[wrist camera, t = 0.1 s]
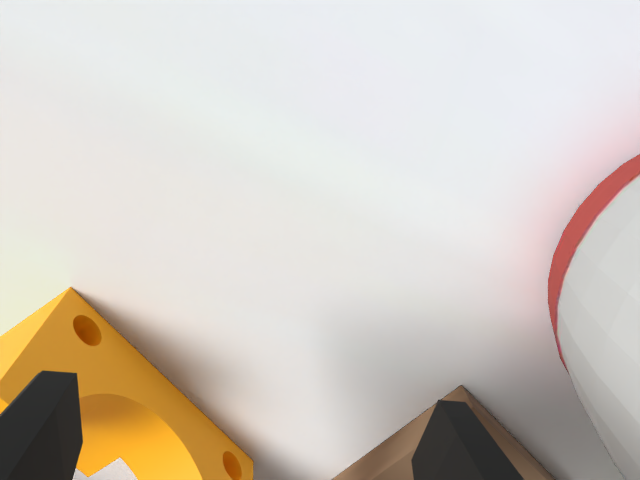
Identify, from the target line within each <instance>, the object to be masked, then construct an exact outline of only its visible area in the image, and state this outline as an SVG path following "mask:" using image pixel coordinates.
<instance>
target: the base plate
mask: <svg viewBox="0 0 640 480" xmlns="http://www.w3.org/2000/svg"><path fill="white" fill-rule="evenodd" d="M441 400H447V401H461V402H466V403H467V404H468V406H469V407H470V408H471V410H472V411H473V412H474V414H475V415H476V416H477V418H478V419H479V420H480V422H481V423H482V424H483V426H484V427H485V428H486V430H487V431H488V432H489V434H490V435H491V436H492V438H493V439H494V440H495V442H496V443H497V444H498V446H499V447H500V448H501V450H502V451H503V452H504V454H505V455H506V456H507V458H508V459H509V460H510V462H511V463H512V464H513V465H514V467H515V468H516V469H517V471H518V472H519V473H520V475H521V476H522V477H523V478H524V480H556V479H555V478H554V477H553V476H552V475H551V474H550V473H549V472H548V471H547V470H546V469H545V468H544V467H543V466H542V465H541V464H540V463H539V462H538V461H537V460H536V459H535V458H534V457H533V456H532V455H531V454H530V453H529V452H528V451H527V450H526V449H525V448H524V447H523V446H522V445H521V444H520V443H519V442H518V441H517V440H516V439H515V438H514V437H513V436H512V435H511V434H510V433H509V432H508V431H507V430H506V429H505V428H504V427H503V426H502V425H501V424H500V423H499V422H498V421H497V420H496V419H495V418H494V417H493V416H492V415H491V414H490V413H489V412H488V411H487V410H486V409H485V408H484V407H483V406H482V405H481V404H480V403H479V402H478V401H477V400H476V399H475V398H474V397H473V396H472V395H471V394H470V393H469V392H468V391H467V390H466V389H465V388H464V387H463V386H462V385H461V386H459V387H458V388H457V389H455V390H454V391H452V392H451V393H450V394H448V395H447V396H446V397H444V398H443V399H441ZM436 404H437V403H436ZM436 404H435V405H433V406H432V407H431V408H429V409H428V410H426V411H425V412H424V413H422V414H421V415H420V416H418V417H417V418H415V419H414V420H413V421H411V422H410V423H409V424H407V425H406V426H405V427H403V428H402V429H400V430H399V431H398V432H396V433H395V434H394V435H392V436H391V437H390V438H388V439H387V440H385V441H384V442H383V443H381V444H380V445H379V446H377V447H376V448H374V449H373V450H372V451H370V452H369V453H368V454H366V455H365V456H364V457H362V458H361V459H359V460H358V461H357V462H355V463H354V464H353V465H351V466H350V467H349V468H347V469H346V470H344V471H343V472H342V473H340V474H339V475H338V476H336V477H335V478H333V479H332V480H414V478H413V470H412V462H411V459H412V457H413V455H414V453H415V450H416V448H417V446H418V444H419V442H420V439H421V437H422V435H423V433H424V430H425V428H426V426H427V424H428V422H429V419H430V417H431V415H432V413H433V410H434V408H435V406H436Z"/></svg>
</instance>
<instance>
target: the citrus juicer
mask: <svg viewBox="0 0 640 480" xmlns="http://www.w3.org/2000/svg"><path fill="white" fill-rule="evenodd" d="M548 305H549V311H550V317H551V322H552V326H553V330H554V334H555V338H556V343H557V347H558V351H559V355H560V359H561V360H562V362H563V364H564V366H565V368H566V370H567V372H568V373H569V375H570V377H571V380H572V383H573V385H574V388H575V391H576V393H577V396H578V398H579V399H580V401H581V403H582V405H583V407H584V409H585V411H586V412H587V414H588V416H589V418H590V420H591V422H592V424H593V425H594V427H595V429H596V431H597V433H598V435H599V437H600V438H601V440H602V442H603V444H604V446H605V448H606V449H607V451H608V453H609V455H610V457H611V459H612V460H613V462H614V464H615V466H616V467H617V468H618V470H619V471H620V473H621V474H622V476H623V477H624V478H625V480H640V154H639V155H637V156H636V157H634V158H632V159H631V160H629V161H627V162H626V163H624V164H623V165H622V166H620V167H619V168H618V169H617V170H616V171H614V172H613V173H612V174H611V175H609V176H608V177H607V178H606V179H605V180H603V181H602V182H601V183H600V184H599V185H598V186H597V187H596V188H595V189H594V191H593V192H592V193H591V194H590V195H589V196H588V197H587V198H586V200H585V201H584V202H583V203H582V204H581V205H580V206H579V208H578V209H577V211H576V213H575V214H574V216H573V217H572V219H571V220H570V222H569V224H568V225H567V227H566V228H565V230H564V232H563V234H562V236H561V239H560V241H559V244H558V246H557V248H556V251H555V253H554V255H553V260H552V264H551V269H550V274H549V278H548Z"/></svg>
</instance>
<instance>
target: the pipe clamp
mask: <svg viewBox="0 0 640 480" xmlns="http://www.w3.org/2000/svg"><path fill="white" fill-rule="evenodd" d="M43 370H44V371H57V372H71V373H77V379H78V390H79V401H80V413H81V424H82V435H83V444H82V448H81V451H80V455H79V458H78V462H77V465H76V468H77V469H78V470H80V471H81V472H82V473H84V474H85V475H86V476H87V477H89V476H91V475H92V474H94V473H96V472H97V471H99V470H100V469H102V468H104V467H105V466H107V465H108V464H110V463H111V462H113V461H115V460H116V459H118V458H119V457H121V458H122V459H123V461H124V462H125V463H126V464H127V465H128V466H129V468H130V469H131V470H132V472H133V473H134V474H135V476H136V477H137V479H138V480H253V460H252V459H251V458H250V457H249V456H247V455H246V454H245V453H244V452H243V451H242V450H241V449H240V448H239V447H238V446H237V445H236V444H235V443H234V442H233V441H232V440H231V439H230V438H229V437H228V436H227V435H225V434H224V433H223V432H222V431H221V430H220V429H219V428H218V427H217V426H216V425H215V424H214V423H213V422H212V421H211V420H210V419H209V418H208V417H207V416H206V415H204V414H203V413H202V412H201V411H200V410H199V409H198V408H197V407H196V406H195V405H194V404H193V403H192V402H191V401H190V400H189V399H188V398H187V397H186V396H185V395H184V394H182V393H181V392H180V391H179V390H178V389H177V388H176V387H175V386H174V385H173V384H172V383H171V382H170V381H169V380H168V379H167V378H166V377H165V376H164V375H163V374H161V373H160V372H159V371H158V370H157V369H156V368H155V367H154V366H153V365H152V364H151V363H150V362H149V361H148V360H147V359H146V358H145V357H144V356H143V355H142V354H141V353H139V352H138V351H137V350H136V349H135V348H134V347H133V346H132V345H131V344H130V343H129V342H128V341H127V340H126V339H125V338H124V337H123V336H122V335H121V334H120V333H118V332H117V331H116V330H115V329H114V328H113V327H112V326H111V325H110V324H109V323H108V322H107V321H106V320H105V319H104V318H103V317H102V316H101V315H100V314H99V313H98V312H96V311H95V310H94V309H93V308H92V307H91V306H90V305H89V304H88V303H87V302H86V301H85V300H84V299H83V298H82V297H81V296H80V295H79V294H78V293H77V292H75V291H74V290H73V289H72V288H71V287H70V288H68V289H67V290H65V291H64V292H63V293H61V294H60V295H58V296H57V297H56V298H54V299H53V300H51V301H50V302H49V303H47V304H46V305H44V306H43V307H42V308H40V309H39V310H37V311H36V312H34V313H33V314H32V315H30V316H29V317H27V318H26V319H25V320H23V321H22V322H20V323H19V324H18V325H16V326H15V327H13V328H12V329H11V330H9V331H8V332H6V333H5V334H3V335H2V336H1V337H0V414H1V413H2V412H3V411H4V410H5V408H6V407H7V406H8V405H9V404H10V403H11V402H12V401H13V400H14V399H15V398H16V397H17V396H18V394H19V393H20V392H21V391H22V390H23V389H24V388H25V387H26V386H27V385H28V383H29V382H30V381H31V380H32V379H33V378H34V377H35V376H36V375H37V374H38V373H40V372H41V371H43Z"/></svg>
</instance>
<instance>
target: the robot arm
mask: <svg viewBox="0 0 640 480" xmlns="http://www.w3.org/2000/svg"><path fill="white" fill-rule="evenodd" d="M82 444H83V435H82V424H81V413H80V401H79V390H78V379H77V373H71V372H57V371H44V370H43V371H41V372H40V373H38V374H37V375H36V376H35V377H34V378H33V379H32V380H31V381H30V382H29V383H28V385H27V386H26V387H25V388H24V389H23V390H22V391H21V392H20V393H19V394H18V396H17V397H16V398H15V399H14V400H13V401H12V402H11V403H10V404H9V405H8V406H7V407H6V408H5V410H4V411H3V412H2V413H1V414H0V480H72V479H73V475H74V472H75V469H76V465H77V462H78V458H79V455H80V451H81V448H82ZM411 462H412V470H413V478H414V480H524V478H523V477H522V476H521V475H520V473H519V472H518V471H517V469H516V468H515V467H514V465H513V464H512V463H511V462H510V460H509V459H508V458H507V456H506V455H505V454H504V452H503V451H502V450H501V448H500V447H499V446H498V444H497V443H496V442H495V440H494V439H493V438H492V436H491V435H490V434H489V432H488V431H487V430H486V428H485V427H484V426H483V424H482V423H481V422H480V420H479V419H478V418H477V416H476V415H475V414H474V412H473V411H472V410H471V408H470V407H469V406H468V404H467V403H466V402H461V401H447V400H438V402H437V404H436V406H435V408H434V410H433V413H432V415H431V417H430V419H429V422H428V424H427V426H426V428H425V430H424V433H423V435H422V437H421V439H420V442H419V444H418V446H417V448H416V450H415V453H414V455H413V457H412V459H411Z"/></svg>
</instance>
